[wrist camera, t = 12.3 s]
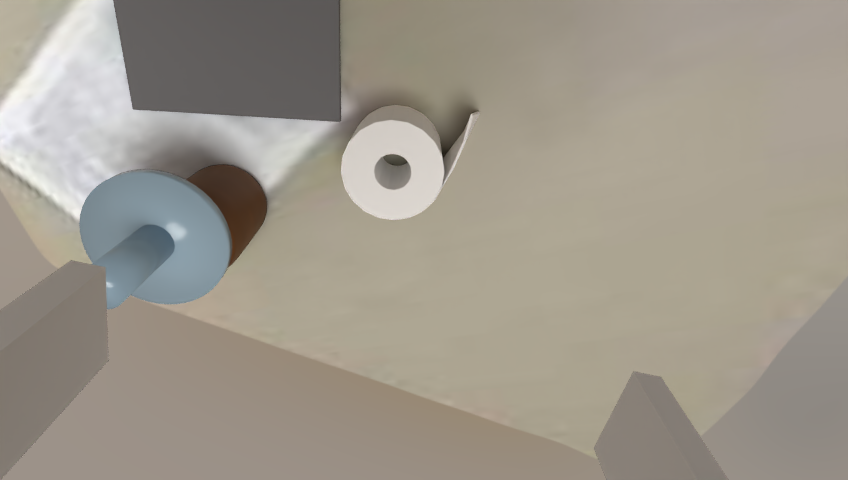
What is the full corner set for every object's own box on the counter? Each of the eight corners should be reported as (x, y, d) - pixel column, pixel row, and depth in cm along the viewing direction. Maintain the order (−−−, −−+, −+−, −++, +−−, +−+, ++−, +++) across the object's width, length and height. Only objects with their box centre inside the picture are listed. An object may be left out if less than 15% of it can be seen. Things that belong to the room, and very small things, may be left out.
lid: (71, 166, 36) (-17, 204, 29) (222, 171, 37) (172, 211, 29) (105, 295, 41) (37, 356, 34) (239, 299, 41) (200, 361, 34)
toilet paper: (480, 112, 44) (490, 129, 38) (407, 208, 48) (405, 237, 42) (404, 55, 42) (401, 62, 36) (335, 160, 46) (321, 183, 40)
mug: (143, 222, 48) (83, 267, 40) (139, 147, 45) (73, 178, 37) (267, 242, 49) (235, 290, 41) (271, 169, 46) (237, 204, 38)
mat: (92, -142, 36) (87, -145, 36) (338, -124, 37) (337, -126, 36) (136, 108, 44) (133, 109, 43) (340, 120, 44) (339, 121, 44)
